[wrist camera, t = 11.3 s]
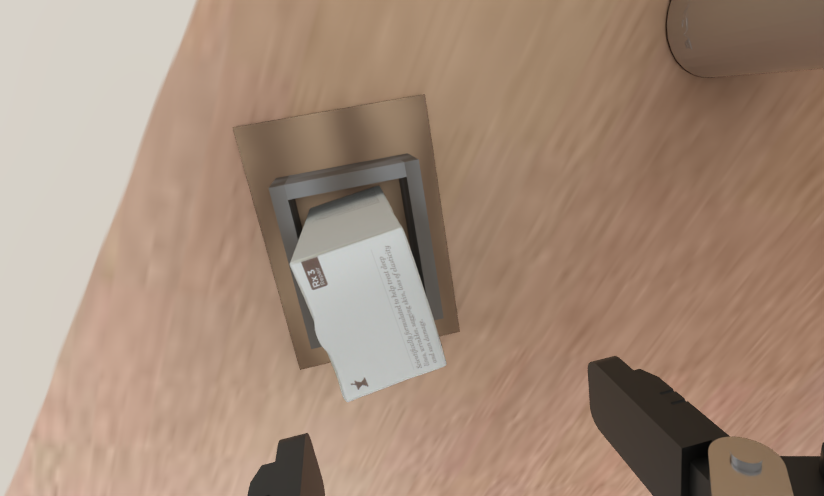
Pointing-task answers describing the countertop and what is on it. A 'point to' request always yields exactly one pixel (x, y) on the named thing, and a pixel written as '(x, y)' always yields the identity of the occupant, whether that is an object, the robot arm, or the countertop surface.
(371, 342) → the skincare box
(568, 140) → the countertop surface
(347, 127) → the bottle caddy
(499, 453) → the countertop surface
